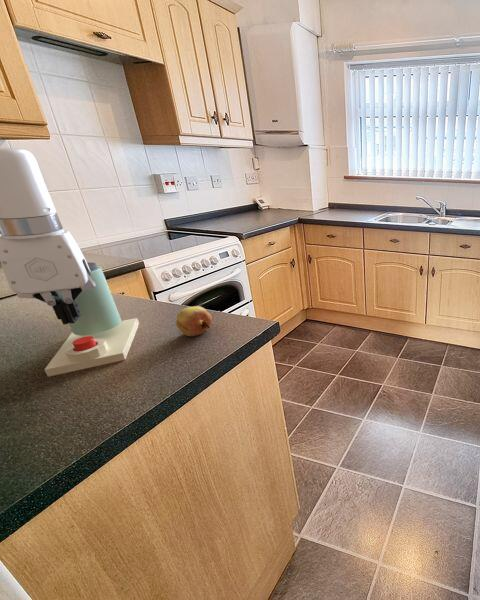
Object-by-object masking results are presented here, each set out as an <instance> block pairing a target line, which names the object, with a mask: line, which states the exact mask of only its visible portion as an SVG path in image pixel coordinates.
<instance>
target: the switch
mask: <svg viewBox="0 0 480 600" xmlns="http://www.w3.org/2000/svg"><path fill="white" fill-rule="evenodd" d="M72 344H73V346H74V348H75V350H76V351H83V350H87V349H90V348H93V347H94V346H96V345H97V344H96V342H95V340H94V337H92V336H87V337H82V338H79V339H77V340H75V341H73V343H72Z"/></svg>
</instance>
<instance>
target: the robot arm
mask: <svg viewBox="0 0 480 600" xmlns="http://www.w3.org/2000/svg"><path fill="white" fill-rule="evenodd" d="M87 262H88V261H87V260H86V257H85V255H84V254H83V252H82V250H81V248H80V246H79V244H78V243H77V241H76V239H75V238H74V237H73V235H72V233H71V232H70V231H69V230H67V229H64V227H63V225H62V223H61V220H60V217H59V215H58V212H57V209H56V207H55V205H54V202H53V199H52V197H51V194H50V191H49V189H48V187H47V184H46V182H45V179H44V176H43V173H42V171H41V169H40V166H39V163H38V161H37V159H36V157H35V156H34V154H33V153H32V152H30V151H29V150H27V149H24V148H22V147H21V148H19V147H4V146H3V147H1V146H0V265H1V269H2V272H3V274H4V276H5V279H6V281H7V284H8V286H9V288H10V289H11V291H12V292H13V293H15V294H16V296H17V297H18V298H19V299H36V300H38V301H41V302H43V303H45V304H47V306H49V307H52V309H53V311H54V314H55V316H56V319H57V320H61V323H62V325H69V323H71V324H72V323H75V322H76V321H77V320H78V318H79V317H80V315H81V312H80V310H79V307H78V305H77V302H76V300H75V299H76V298H77V296H78V295H79V294H80V293H81V292H85V291H88V290H91V289H94V287H95V286H96V284H95V282H94V281H93V280H92V278H91V272H90V269H89V266H88V264H87ZM58 290H62V294H63V299H64V300H63V299H62V298H61V297H60V295H59V294H58V292H57V291H58Z"/></svg>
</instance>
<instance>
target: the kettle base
mask: <svg viewBox="0 0 480 600" xmlns="http://www.w3.org/2000/svg"><path fill="white" fill-rule="evenodd" d="M138 325H139V326H140V322H139V319H138V318H137V317H134V318H129V319H123V320H121V323H120V324H119V325H118V326H116V327H114V328H112V329H110V330H107V331H104V332H101V333H97V334H92V335H84V336H80V335H75V334H73V332H72V331H71V333H70V334H69V336H68V337H67V339H65V341H64V343H62V345H61V346H60V348H59V349H58V351H57V352H56V353H55V354H54V356H53V357H52V358H51V360H50V361H49V363H48V364H47V366H45V368H44V372H45V374H46V376H47V378H48V377H53V376H58V375H63V374H66V373H71V372H76V371H81V370H85V369H90V368H94V367H99V366H103V365H108V364H112V363H117V362H121V361H125V360H126V359H127V357H128V354H129V352H130V349H131V347H132V344H133V341H134V338H135V336H136V333H137V331H138V328H139V326H138ZM87 336H92V337H94V340H95V342H96V344H97V345H96V346H94V347H93V348H90V349H87V350H83V351H76V350H75V348H74V346H73V344H72V343H73V341H75V340H77V339H79V338H82V337H87Z"/></svg>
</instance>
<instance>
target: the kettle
mask: <svg viewBox="0 0 480 600" xmlns="http://www.w3.org/2000/svg"><path fill="white" fill-rule="evenodd" d="M86 262H87V264H88V266H89V269H90V272H91V278H92V280H93V281H94V282H95V284H96V286H95V287H94V289H91V290H88V291H85V292H81V293H80V294H79V295H78V296H77V298H76V299H75V300H76V302H77V305H78V307H79V310H80V312H81V315H80V317H79V318H78V320H77V321H76V322H75V323H72V324H71V323H68V326H69V328H70V330H71V333H72V332H73V334H75V335H80V336H84V335H92V334H97V333H101V332H104V331H107V330H110V329H112V328H114V327H116V326H118V325H119V324H120V323H121V321H122V319H121V315H120V312H119V310H118V308H117V305H116V303H115V300H114V297H113V294H112V291H111V289H110V287H109V284H108V282H107V279H106V276H105V274H104V271H103V269H102V266H101V265H97V264H96V262H91V261H89V262H88V261H86ZM57 292H58V294H59V295H60V297H61V298H62V299H63V294H62V290H58V291H57ZM63 300H64V299H63Z"/></svg>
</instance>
